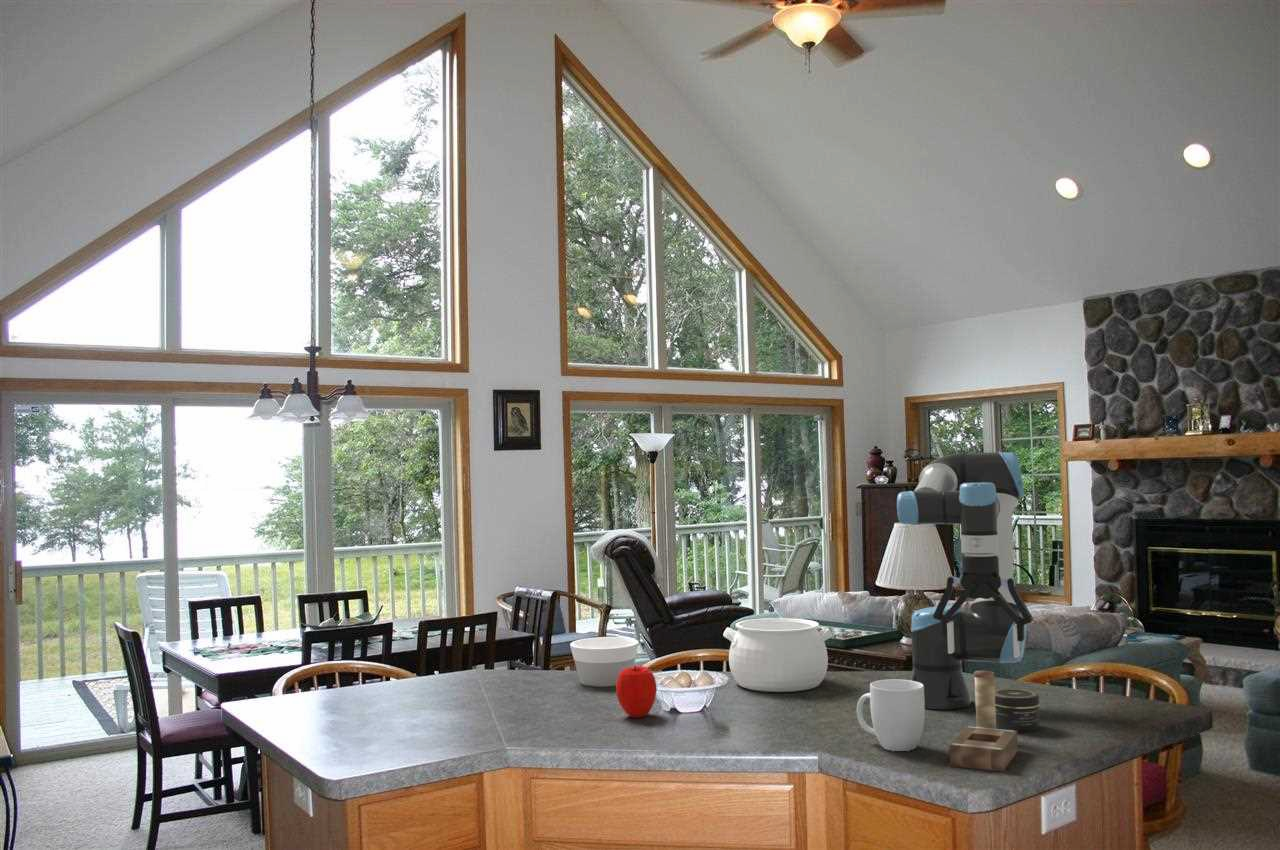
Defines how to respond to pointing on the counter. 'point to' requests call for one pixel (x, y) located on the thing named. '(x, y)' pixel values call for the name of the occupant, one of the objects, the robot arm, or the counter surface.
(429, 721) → the counter surface
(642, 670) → the apple
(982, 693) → the dowel
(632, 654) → the bowl
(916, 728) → the mug
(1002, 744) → the socket board
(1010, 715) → the jar
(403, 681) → the counter surface
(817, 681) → the pot
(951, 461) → the robot arm
